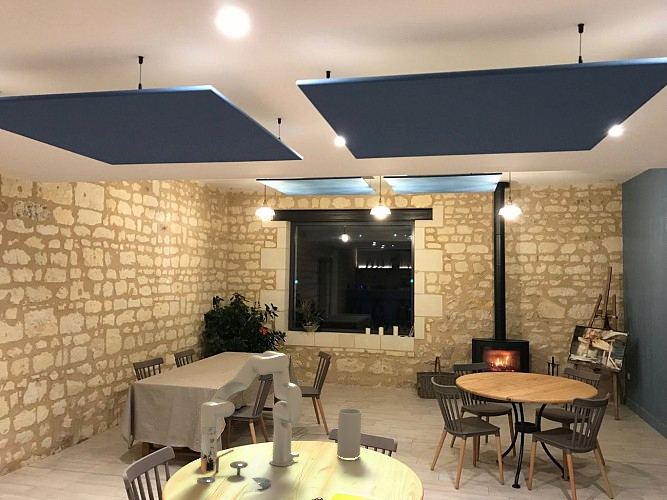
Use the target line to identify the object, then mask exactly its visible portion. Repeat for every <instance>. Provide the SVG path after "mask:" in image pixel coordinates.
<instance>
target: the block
mask: <svg viewBox="0 0 667 500" xmlns="http://www.w3.org/2000/svg"><path fill="white" fill-rule="evenodd" d="M209 458H211V457H209ZM206 466H207V458H204V459H201V458H200V470H201V471H202V473H203V474H206V473H212V472H216V465H215V460H214V467H213V470H211V471H206Z"/></svg>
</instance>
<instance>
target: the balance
mask: <svg viewBox="0 0 667 500" xmlns="http://www.w3.org/2000/svg"><path fill="white" fill-rule="evenodd" d="M232 452H235V449H234V448H232V449H230V450H228V451H226V452H224V453H222V454H219V455H217V457H215V458H214V460H216V465H215V473H216V474H217V473H219V467H220V466H219V465H220V459H221V458H222V457H224V456H227V455H228V454H230V453H232ZM248 465H249V463H248V462H246V461H241V460H238V461H233V462H231V463H229V467H231V468H232V469H236V476H241V469H246V468H247V467H248ZM196 482H197V483H198V484H200V485H209V484H213V483H215V482H216V478H214V477H211V476H205V477H199V478H198V479H197V480H196Z"/></svg>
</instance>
